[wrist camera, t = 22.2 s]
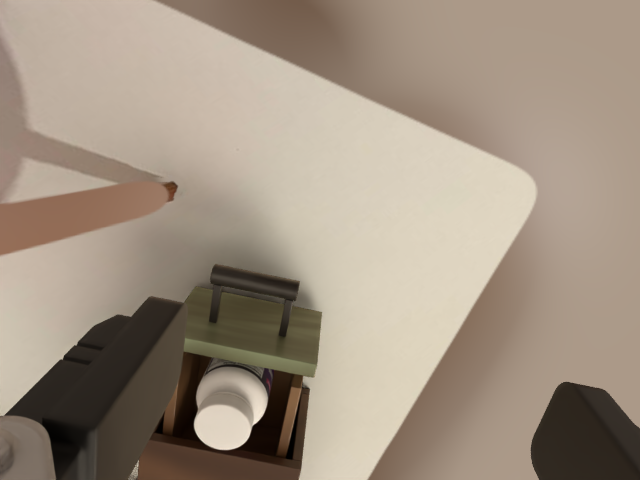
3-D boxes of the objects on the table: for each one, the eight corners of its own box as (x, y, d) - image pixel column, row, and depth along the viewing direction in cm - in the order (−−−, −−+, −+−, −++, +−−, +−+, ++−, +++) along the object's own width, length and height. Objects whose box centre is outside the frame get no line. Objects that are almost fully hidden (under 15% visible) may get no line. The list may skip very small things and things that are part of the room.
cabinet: (182, 363, 44) (140, 438, 35) (309, 388, 44) (301, 469, 35) (169, 474, 49) (130, 565, 40) (284, 496, 49) (270, 592, 40)
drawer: (201, 236, 38) (167, 274, 31) (333, 263, 38) (330, 307, 31) (181, 406, 44) (148, 472, 37) (294, 429, 44) (285, 499, 37)
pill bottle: (265, 382, 41) (243, 468, 32) (211, 359, 41) (172, 441, 32) (289, 336, 40) (272, 414, 30) (232, 312, 39) (198, 384, 30)
